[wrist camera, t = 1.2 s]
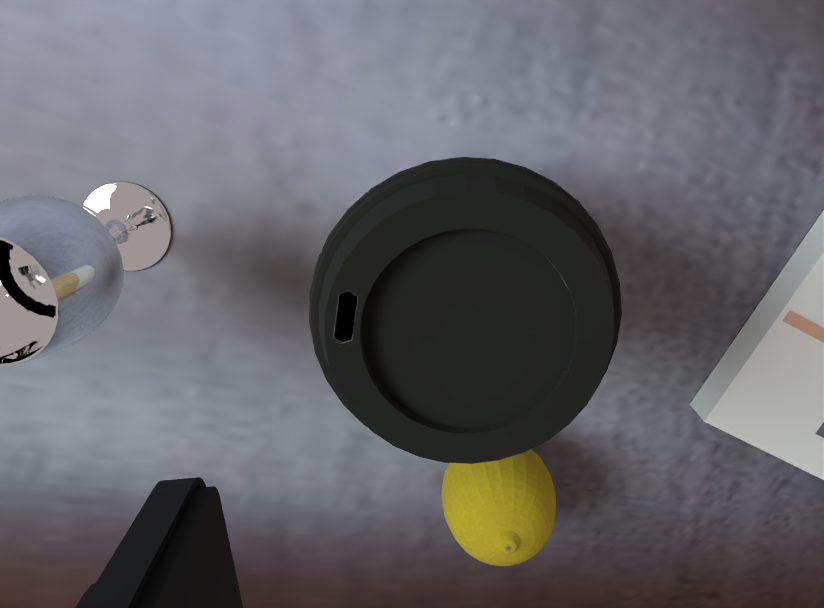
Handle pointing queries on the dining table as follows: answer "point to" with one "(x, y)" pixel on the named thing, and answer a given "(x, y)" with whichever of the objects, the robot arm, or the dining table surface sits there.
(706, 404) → the fader board
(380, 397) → the coffee cup
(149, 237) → the wineglass
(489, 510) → the lemon
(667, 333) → the dining table surface
